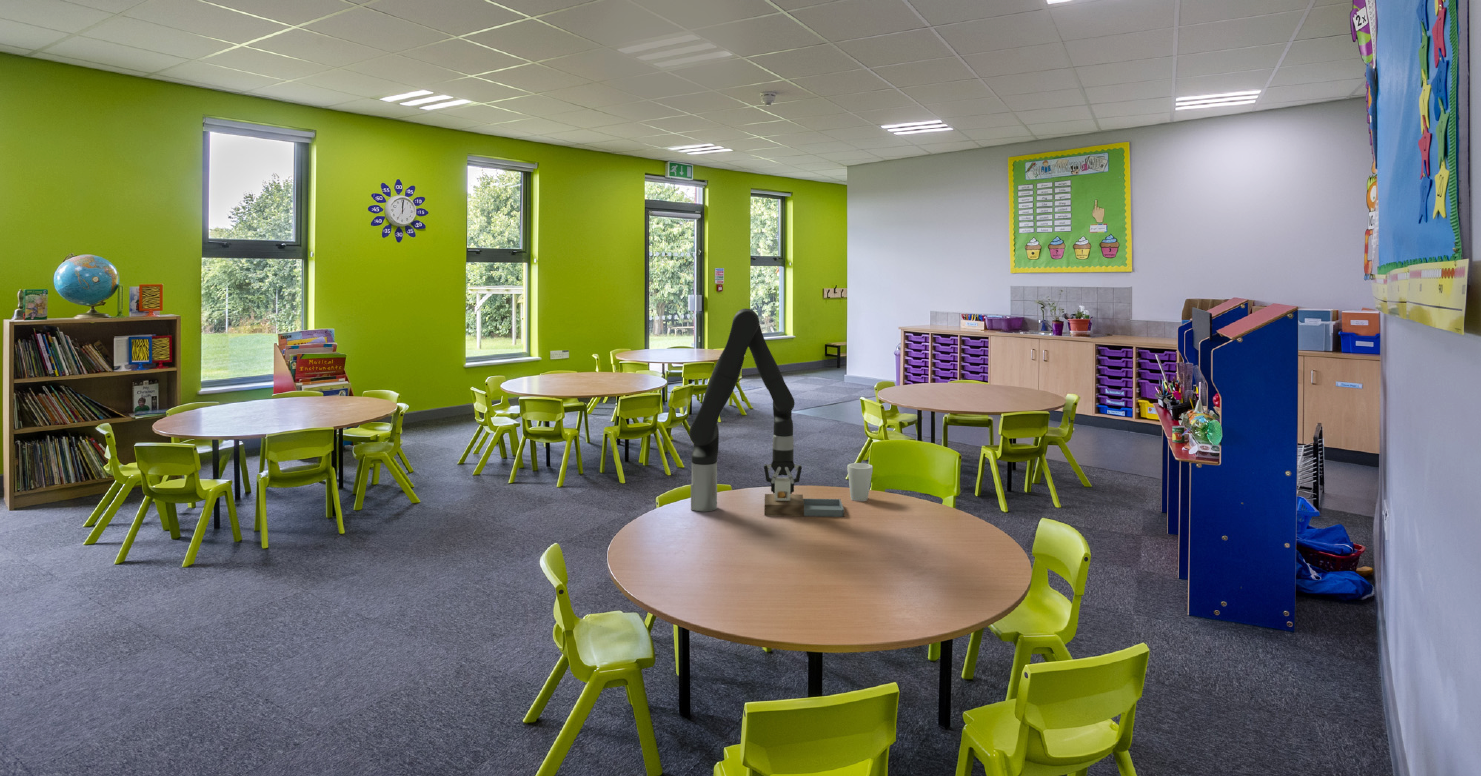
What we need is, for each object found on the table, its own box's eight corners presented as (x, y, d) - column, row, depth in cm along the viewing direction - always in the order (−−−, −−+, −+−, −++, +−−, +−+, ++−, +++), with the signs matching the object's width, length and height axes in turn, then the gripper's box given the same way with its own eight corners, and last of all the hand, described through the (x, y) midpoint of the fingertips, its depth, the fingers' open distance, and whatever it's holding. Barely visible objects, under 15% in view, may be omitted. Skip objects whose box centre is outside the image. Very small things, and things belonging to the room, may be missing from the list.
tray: (804, 516, 275) (804, 509, 274) (802, 505, 289) (802, 498, 288) (843, 516, 274) (843, 509, 274) (840, 505, 288) (840, 499, 288)
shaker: (774, 500, 279) (774, 481, 278) (774, 496, 284) (774, 477, 283) (790, 500, 278) (790, 481, 278) (789, 496, 284) (790, 477, 283)
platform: (764, 515, 275) (764, 504, 275) (764, 504, 289) (764, 493, 289) (804, 516, 275) (804, 505, 274) (802, 505, 289) (802, 494, 288)
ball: (777, 500, 280) (777, 492, 280) (777, 498, 283) (777, 490, 283) (785, 500, 280) (785, 492, 279) (785, 498, 283) (785, 490, 282)
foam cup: (842, 497, 299) (842, 464, 298) (862, 494, 303) (863, 462, 302) (855, 503, 291) (856, 469, 289) (876, 500, 295) (877, 467, 293)
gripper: (762, 449, 275) (762, 495, 278) (803, 449, 275) (802, 496, 277) (763, 444, 283) (762, 490, 285) (802, 445, 282) (802, 490, 285)
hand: (782, 492), depth 281 cm, fingers closed on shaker, 5 cm apart
